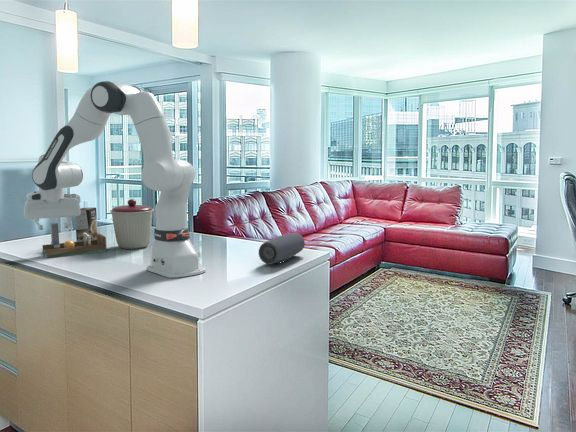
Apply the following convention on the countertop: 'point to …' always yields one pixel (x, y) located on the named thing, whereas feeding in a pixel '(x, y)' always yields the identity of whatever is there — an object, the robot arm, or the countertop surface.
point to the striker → (54, 236)
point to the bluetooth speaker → (281, 248)
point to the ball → (69, 244)
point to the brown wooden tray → (78, 247)
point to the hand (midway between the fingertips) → (53, 228)
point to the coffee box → (86, 224)
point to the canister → (132, 225)
